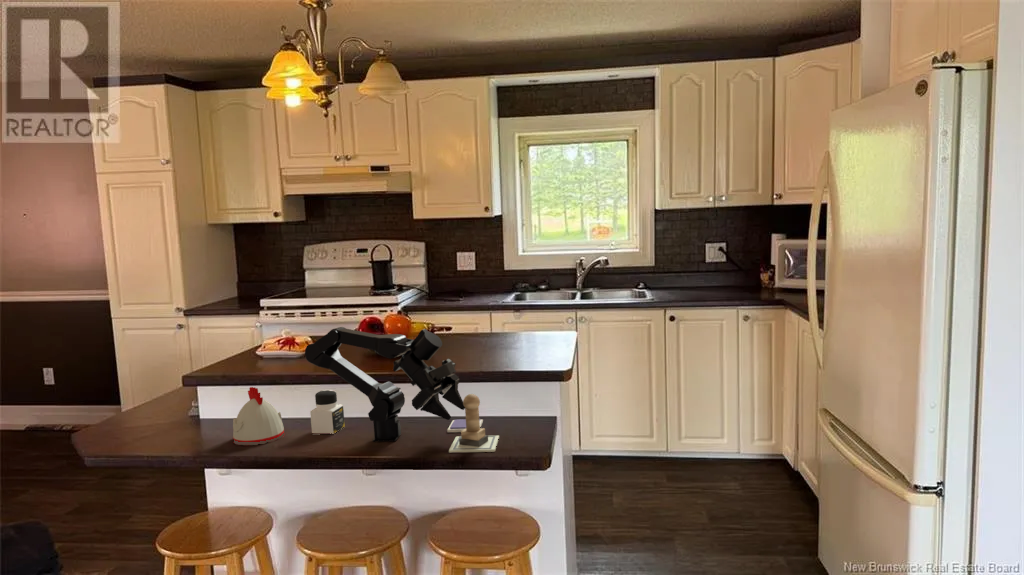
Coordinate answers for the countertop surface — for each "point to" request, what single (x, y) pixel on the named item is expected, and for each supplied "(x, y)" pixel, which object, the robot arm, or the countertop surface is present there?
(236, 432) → the kitchen timer
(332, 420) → the medicine bottle
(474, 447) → the marked board
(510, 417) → the countertop surface
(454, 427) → the ink pad
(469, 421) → the hand stamp
